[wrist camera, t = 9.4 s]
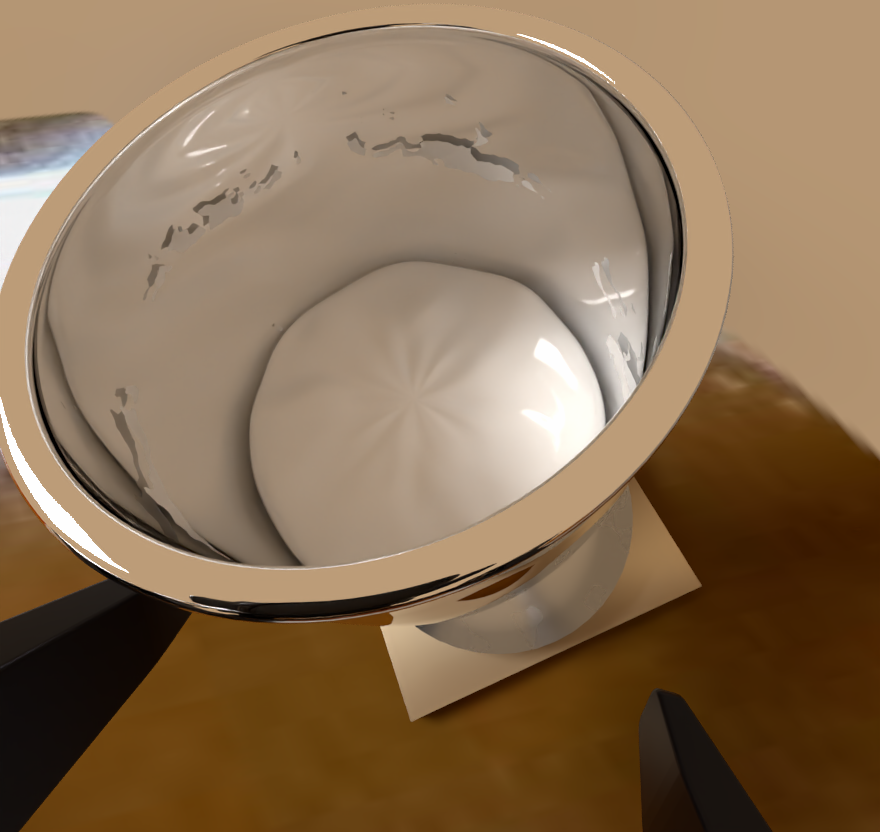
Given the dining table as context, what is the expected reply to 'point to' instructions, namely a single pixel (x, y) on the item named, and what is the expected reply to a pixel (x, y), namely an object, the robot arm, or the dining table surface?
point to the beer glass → (364, 318)
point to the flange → (550, 596)
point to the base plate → (464, 672)
